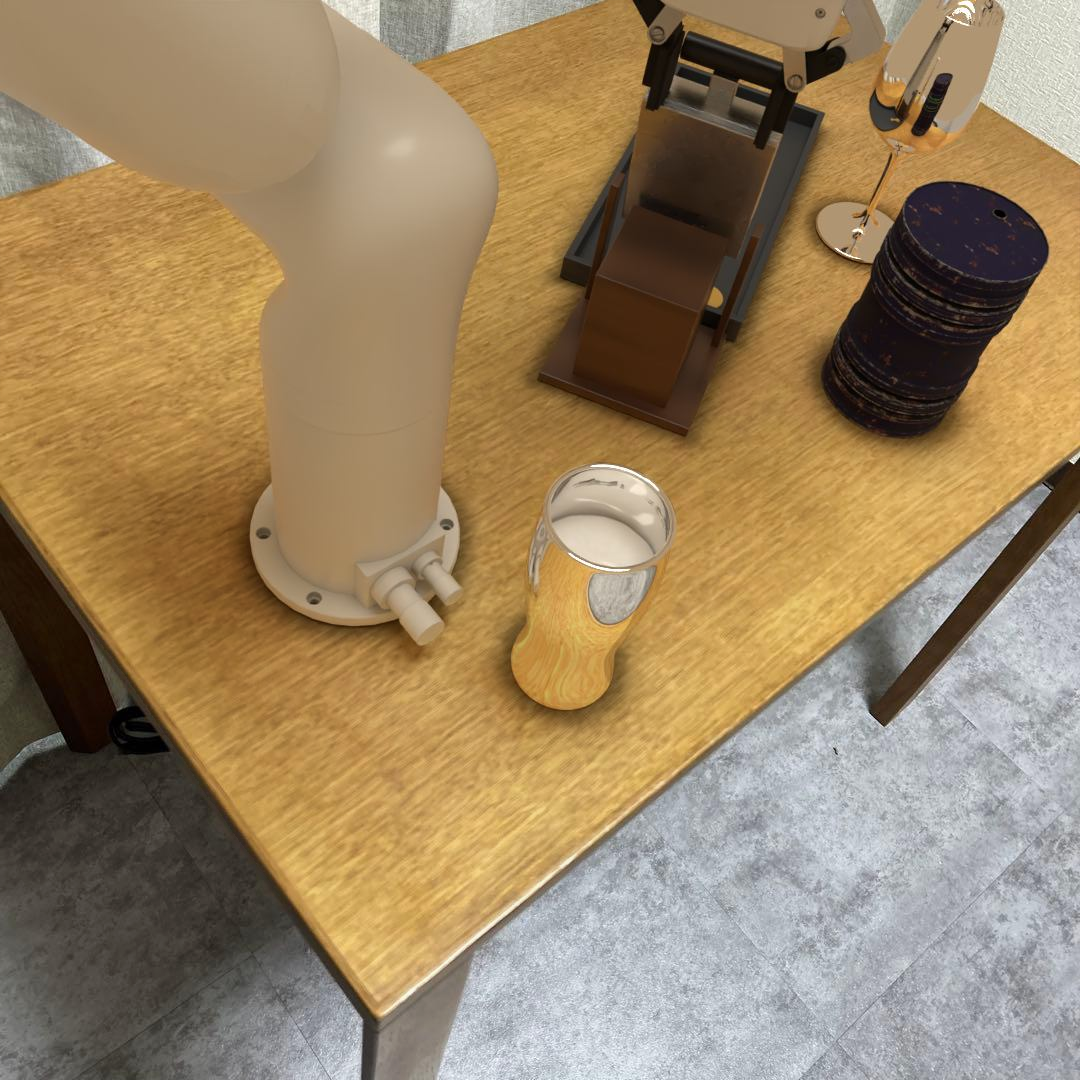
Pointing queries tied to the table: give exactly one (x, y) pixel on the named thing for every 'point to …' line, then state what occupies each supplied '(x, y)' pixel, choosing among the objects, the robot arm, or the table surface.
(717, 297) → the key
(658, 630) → the table surface
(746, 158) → the translucent box
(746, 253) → the stand
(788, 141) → the tray
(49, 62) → the robot arm
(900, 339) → the dark purple cylinder
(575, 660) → the beer glass
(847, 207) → the wineglass
